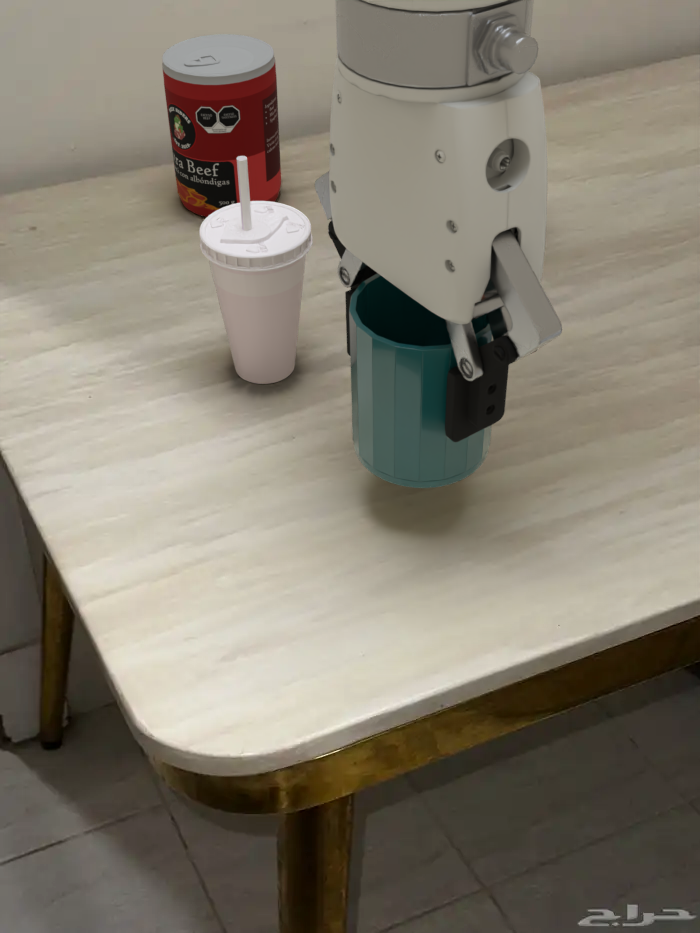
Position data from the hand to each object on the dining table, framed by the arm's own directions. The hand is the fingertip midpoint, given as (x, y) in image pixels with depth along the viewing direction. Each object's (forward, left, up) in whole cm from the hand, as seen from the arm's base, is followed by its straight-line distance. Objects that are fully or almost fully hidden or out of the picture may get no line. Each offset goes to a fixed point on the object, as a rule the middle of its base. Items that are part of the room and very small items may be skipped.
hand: (422, 384), depth 55 cm
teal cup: (0, 0, -4) cm, 4 cm away
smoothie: (+5, -14, -8) cm, 17 cm away
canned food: (+3, -36, -8) cm, 37 cm away
